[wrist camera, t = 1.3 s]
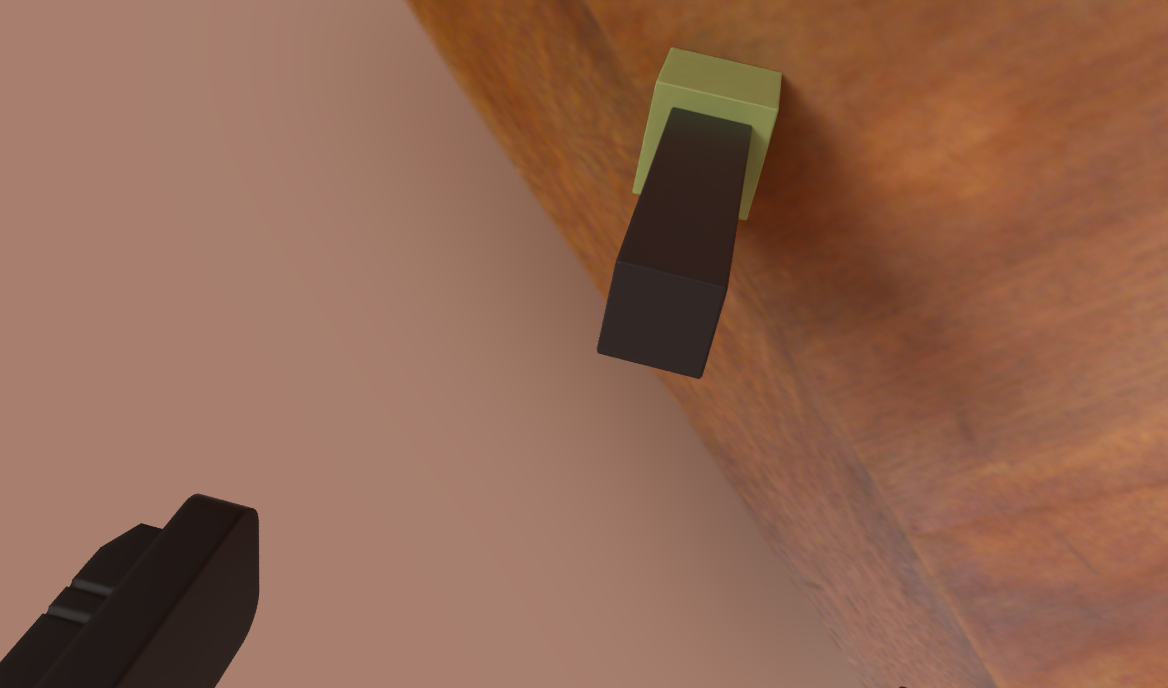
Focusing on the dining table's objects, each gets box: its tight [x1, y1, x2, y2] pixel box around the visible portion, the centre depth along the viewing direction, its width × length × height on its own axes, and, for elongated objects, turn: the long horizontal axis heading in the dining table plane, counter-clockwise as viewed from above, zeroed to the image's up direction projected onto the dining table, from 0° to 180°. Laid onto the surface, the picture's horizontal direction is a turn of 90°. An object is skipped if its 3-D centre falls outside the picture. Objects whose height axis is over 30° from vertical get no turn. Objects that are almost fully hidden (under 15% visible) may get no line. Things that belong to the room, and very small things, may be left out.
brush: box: [597, 47, 782, 379], centre depth 28 cm, size 4×4×14 cm
